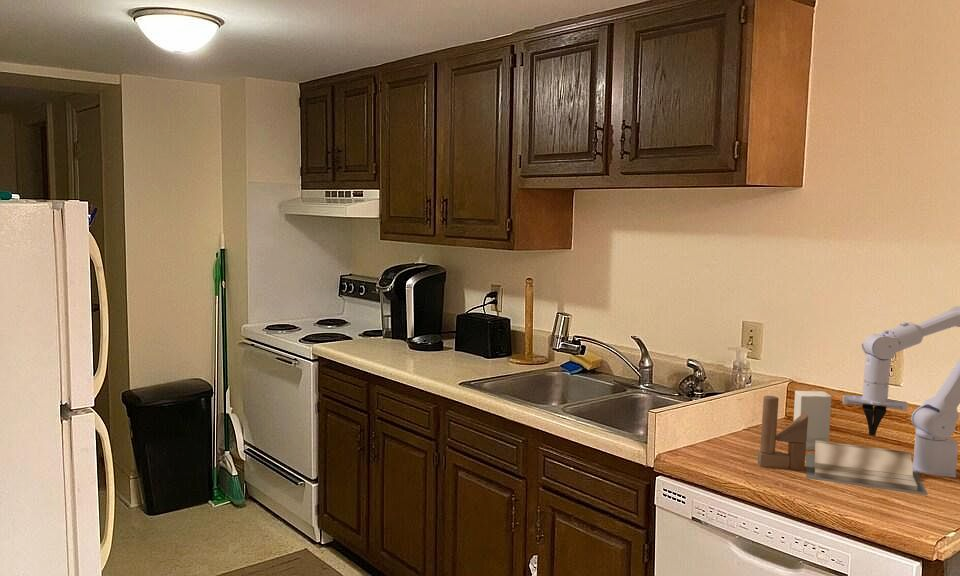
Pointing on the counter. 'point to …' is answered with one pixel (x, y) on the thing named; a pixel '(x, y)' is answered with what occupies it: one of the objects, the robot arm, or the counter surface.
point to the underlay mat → (811, 475)
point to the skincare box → (814, 415)
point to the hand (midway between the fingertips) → (871, 434)
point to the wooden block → (781, 439)
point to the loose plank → (863, 458)
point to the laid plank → (865, 477)
